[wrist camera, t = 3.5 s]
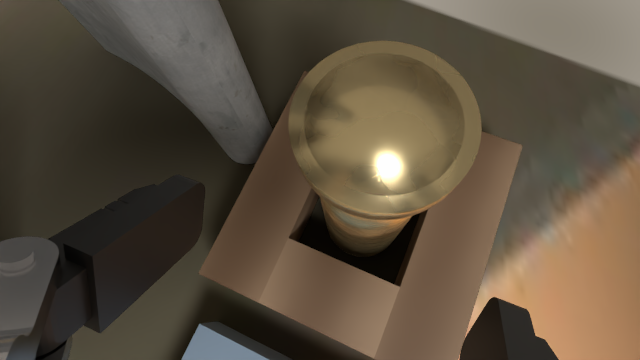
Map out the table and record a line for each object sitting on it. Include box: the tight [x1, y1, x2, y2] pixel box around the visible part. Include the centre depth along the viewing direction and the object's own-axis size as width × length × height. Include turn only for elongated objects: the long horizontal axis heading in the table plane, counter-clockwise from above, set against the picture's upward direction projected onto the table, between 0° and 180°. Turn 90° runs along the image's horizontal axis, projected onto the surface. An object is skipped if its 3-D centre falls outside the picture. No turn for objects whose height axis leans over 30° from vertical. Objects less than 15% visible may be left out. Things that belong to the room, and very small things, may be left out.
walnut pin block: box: [199, 71, 523, 360], centre depth 19 cm, size 12×12×3 cm
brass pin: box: [288, 41, 482, 257], centre depth 15 cm, size 5×5×12 cm
